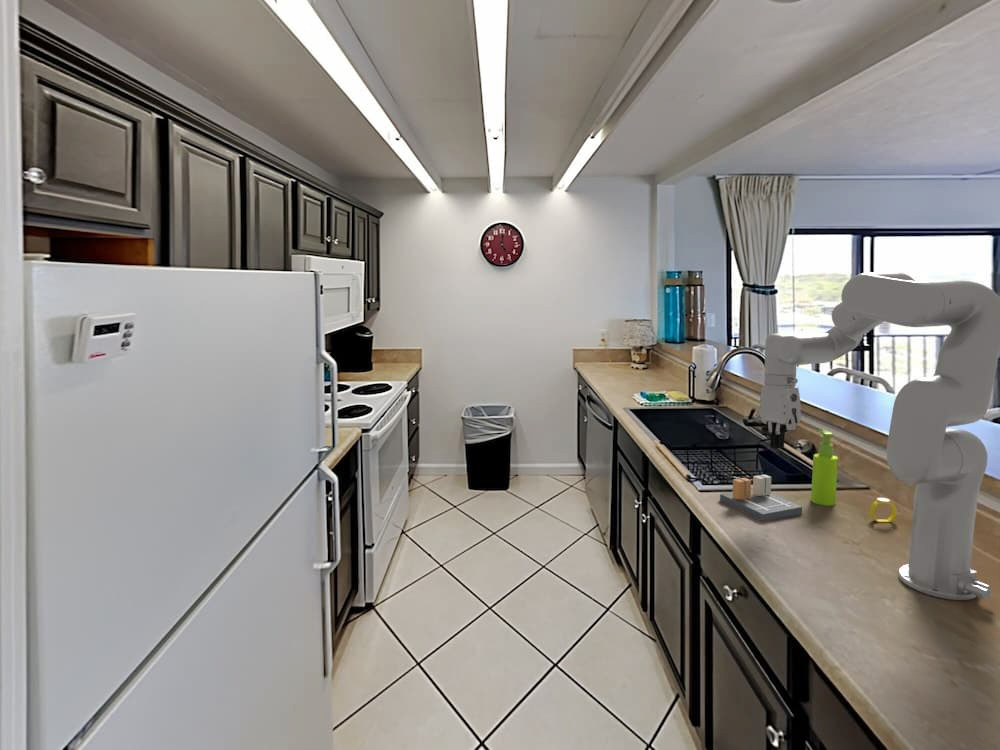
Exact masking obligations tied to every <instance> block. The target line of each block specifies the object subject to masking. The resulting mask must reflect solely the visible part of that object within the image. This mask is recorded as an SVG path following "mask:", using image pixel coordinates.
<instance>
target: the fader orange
mask: <svg viewBox="0 0 1000 750" xmlns="http://www.w3.org/2000/svg"><path fill="white" fill-rule="evenodd" d="M751 489H752V480H751V479H750V478H747V477H741V478H740V477H739V478H734V479H732V492H733V497H734V498H736V499H738V500H740V499H746V498H751Z"/></svg>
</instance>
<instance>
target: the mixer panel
mask: <svg viewBox="0 0 1000 750" xmlns="http://www.w3.org/2000/svg"><path fill="white" fill-rule="evenodd" d="M719 501H720V502H722V503H724V504H726V505H728V506H730V507H732V508H734V509H737V510H739V511H740V512H743V513H744V514H746V515H748V516H751V517H752V518H755V519H757V520H759V521H760V522H767V521H773V520H777V519H779V520H780V519H784V518H788V517H795V516H799V515H803V506H801V505H800V504H799V505H798V504H797V503H795V502H792V501H789V500H787V499H785V498H782V497H780V496H778V495H776V494H772V493H771V494H769V495H763V496H758V495H756V494H753V488H751V498H746V499H740V500H738V499H736V498H734V497H733V491H730V492H724V493H722V492H721V493H720V494H719Z"/></svg>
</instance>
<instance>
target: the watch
mask: <svg viewBox="0 0 1000 750" xmlns="http://www.w3.org/2000/svg"><path fill="white" fill-rule="evenodd" d="M881 504H882V505H890V506H891V510H892V511H891V514H890V516H888V518H885V519H884V518H883V519H877V518H876V517H875V515H874V513H875V509H876V508H877V506H879V505H881ZM868 514H869V516H870V517H871V519H872V520H873V521H875V522H876V523H878V524H879V523H891V522H893V521H894V520H895V518H897V514H898V510H897V507H896V505H895V504H894V503H893V502H891V500H890V499H889V498H886V497H877V498H876V500H875V501H873V502H872V503H871V505H870V507H869V510H868Z"/></svg>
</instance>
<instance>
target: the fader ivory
mask: <svg viewBox="0 0 1000 750" xmlns="http://www.w3.org/2000/svg"><path fill="white" fill-rule="evenodd" d="M752 489H753V494H756V495H758V496H763V495H769V494H772V493H771V492H772V476H770V475H767V474H758V475H753V478H752Z"/></svg>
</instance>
